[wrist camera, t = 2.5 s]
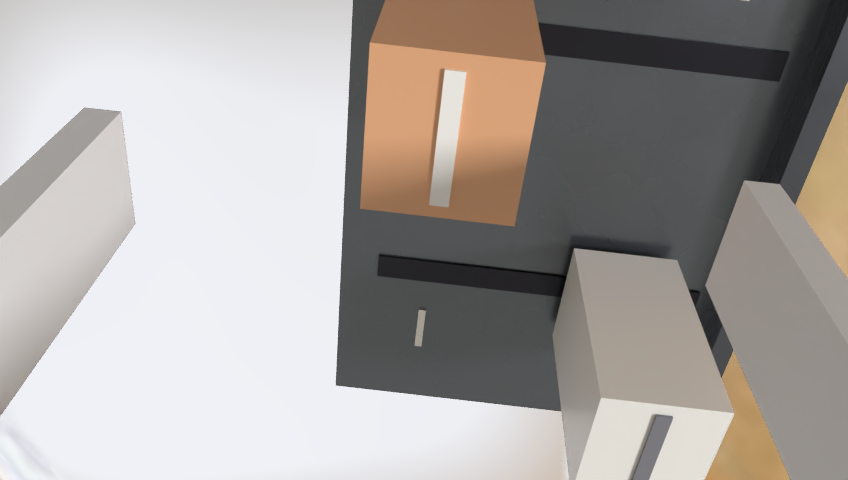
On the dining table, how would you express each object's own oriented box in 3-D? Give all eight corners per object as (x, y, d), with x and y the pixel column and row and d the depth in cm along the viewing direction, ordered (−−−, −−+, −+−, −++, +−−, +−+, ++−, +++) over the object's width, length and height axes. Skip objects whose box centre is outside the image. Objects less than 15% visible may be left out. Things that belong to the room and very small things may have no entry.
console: (367, -229, 23) (356, -226, 21) (907, -167, 23) (949, -158, 21) (339, 370, 36) (330, 407, 34) (679, 409, 36) (690, 449, 34)
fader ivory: (573, 248, 29) (601, 400, 23) (677, 260, 29) (735, 415, 23) (552, 335, 32) (571, 496, 25) (647, 346, 32) (692, 509, 25)
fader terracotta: (400, -43, 24) (369, 44, 17) (527, -29, 24) (546, 64, 17) (390, 89, 26) (359, 210, 20) (506, 102, 26) (514, 228, 20)
